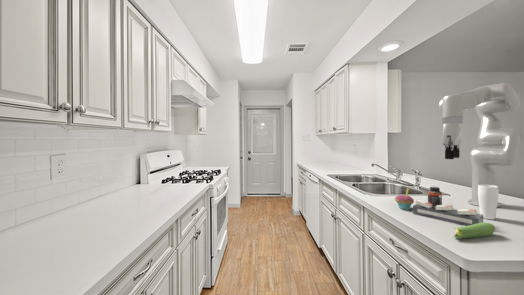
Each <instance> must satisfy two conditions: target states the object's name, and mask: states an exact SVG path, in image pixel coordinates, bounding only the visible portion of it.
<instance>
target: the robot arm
mask: <svg viewBox="0 0 524 295" xmlns="http://www.w3.org/2000/svg"><path fill="white" fill-rule="evenodd" d="M520 105H521V101H520V98H519V96H518V94H517V93H516V91H515V90H514V88H513V87H512V86H511V85H510V84H508V83H506V82H501V83H493V84H490V85H489V84H488V85H483V86H479V87H476V88H474V89H469V90H467V91H464V92H460V93H456V94H448V95H445V96H443V97H442V98H441V99H440V100H439V103H438V109H439V111H440V112H441V113H442V117H441V118H442V119H441V120H442V121H441V124H442V125H443V126H442V127H443V128H442V138H441V145H442V146H444V159H445V160H454V159H459V158H460V155H461V154H460V144H461V142H462V131H461V125H462V124H464V112H465V111H471V110H473V109H475V111H476V114H477V116H478V118H479V120H480V121H479V122H480V125H479V130H478V133H477V134H478V135H477V140H476V141H477V143H478V145H479V146H480V147H479V146H478V147H474V148H472V149H471V150H470V152H469V159H470V163H471V199H468V200H467V203H468V204H470V205H474V206H478V207H479V201H478V185H481V184H483V185H494V186H497V172H496V171H495V169H494V168H493V167H492V166H498V167H499V166H501V167H502V166H503V167H511V166H513V165H514V164H515V163H516V161H517V157H518V154H519V148H520V142H521V134H520V132H519V131H518V130H517V129H515V128H502V127H503V120H502V119H501V118H500V117H499V116H497V115H495V113H496V114H497V113H508V112H514V111H516V110H518V109H519V108H520ZM500 207H501V204H500V203H499V202H498V203H497V208H500Z"/></svg>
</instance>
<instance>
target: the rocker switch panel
mask: <svg viewBox="0 0 524 295" xmlns="http://www.w3.org/2000/svg"><path fill="white" fill-rule="evenodd" d="M458 210H459V209H455V208H453V209H452V210H436V208H435V206H434V205H432V207H431V208H427V207H424V206H421V205H419V204H416V203H415V204H414V205H413V206H412V214H413V215H418V216H422V217H426V218H430V219H435V220H438V221H443V222H444V221H445V222H448V223H452V224H457V225H461V226H469V225H473V224H478V223H483V222H484V218H483V215H481V214H480V213H477V214H476V215H466V214H458V212H457V211H458Z"/></svg>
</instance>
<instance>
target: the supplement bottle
mask: <svg viewBox="0 0 524 295" xmlns="http://www.w3.org/2000/svg"><path fill="white" fill-rule="evenodd" d="M427 203H430V204H432V205H434V206H437V205H443V193H442V191H440V187H438V186H429V190H428V191H427Z"/></svg>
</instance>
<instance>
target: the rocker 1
mask: <svg viewBox="0 0 524 295" xmlns="http://www.w3.org/2000/svg"><path fill="white" fill-rule="evenodd" d="M416 204H419V205H421V206H424V207H427V208H431V207H432V204H430V203H428V201H424V200H421V199H417V200H416V201H415V205H416Z"/></svg>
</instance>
